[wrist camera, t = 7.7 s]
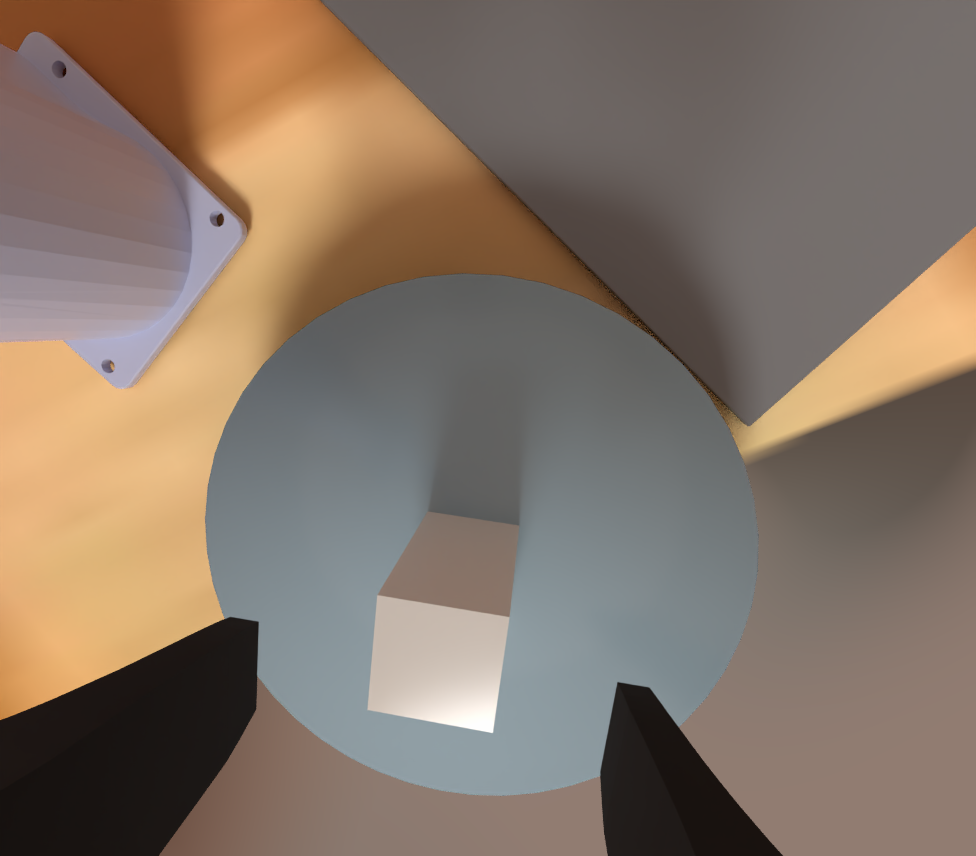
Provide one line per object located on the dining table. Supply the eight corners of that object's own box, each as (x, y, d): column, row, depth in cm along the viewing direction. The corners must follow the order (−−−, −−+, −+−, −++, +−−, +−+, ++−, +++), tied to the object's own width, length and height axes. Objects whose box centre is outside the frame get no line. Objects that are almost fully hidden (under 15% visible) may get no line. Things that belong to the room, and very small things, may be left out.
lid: (216, 727, 19) (80, 897, 13) (224, 244, 16) (45, 199, 10) (686, 816, 18) (753, 1044, 12) (809, 314, 14) (983, 307, 9)
